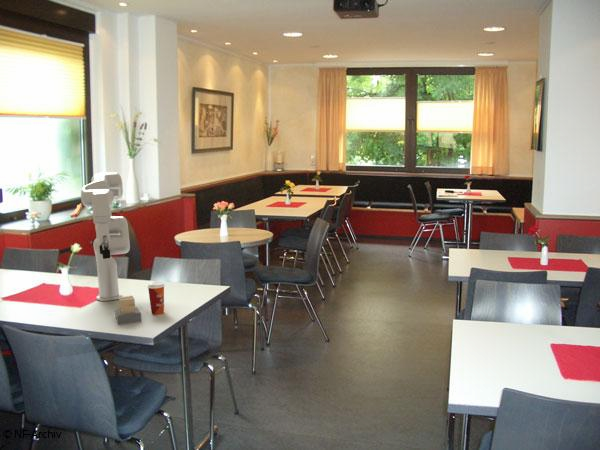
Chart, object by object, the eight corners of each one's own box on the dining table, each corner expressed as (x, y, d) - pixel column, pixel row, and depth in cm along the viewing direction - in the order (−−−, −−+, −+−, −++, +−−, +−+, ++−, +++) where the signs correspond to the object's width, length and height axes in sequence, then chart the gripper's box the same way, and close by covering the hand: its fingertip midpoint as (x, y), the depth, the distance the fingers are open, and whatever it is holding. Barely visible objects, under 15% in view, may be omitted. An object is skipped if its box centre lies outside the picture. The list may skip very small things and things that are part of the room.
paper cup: (162, 315, 288) (160, 285, 286) (146, 315, 289) (144, 285, 287) (169, 310, 295) (167, 281, 293) (153, 310, 297) (151, 281, 295)
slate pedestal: (115, 318, 286) (114, 309, 285) (137, 315, 290) (137, 306, 289) (118, 324, 277) (117, 315, 276) (141, 321, 281) (140, 312, 280)
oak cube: (119, 310, 284) (118, 297, 284) (133, 308, 287) (132, 295, 286) (121, 313, 279) (120, 300, 278) (135, 311, 281) (134, 298, 280)
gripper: (91, 217, 293) (94, 253, 297) (95, 223, 278) (99, 261, 281) (107, 215, 296) (110, 251, 300) (113, 221, 281) (116, 259, 284)
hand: (105, 256), depth 290 cm, fingers open, 9 cm apart
